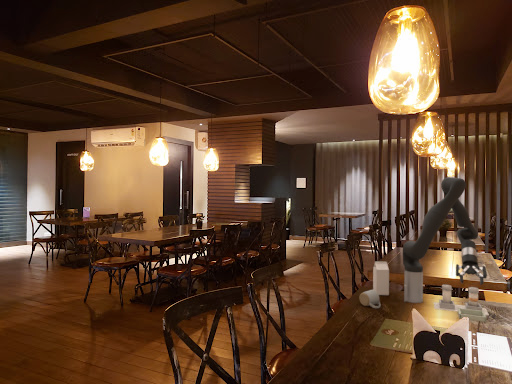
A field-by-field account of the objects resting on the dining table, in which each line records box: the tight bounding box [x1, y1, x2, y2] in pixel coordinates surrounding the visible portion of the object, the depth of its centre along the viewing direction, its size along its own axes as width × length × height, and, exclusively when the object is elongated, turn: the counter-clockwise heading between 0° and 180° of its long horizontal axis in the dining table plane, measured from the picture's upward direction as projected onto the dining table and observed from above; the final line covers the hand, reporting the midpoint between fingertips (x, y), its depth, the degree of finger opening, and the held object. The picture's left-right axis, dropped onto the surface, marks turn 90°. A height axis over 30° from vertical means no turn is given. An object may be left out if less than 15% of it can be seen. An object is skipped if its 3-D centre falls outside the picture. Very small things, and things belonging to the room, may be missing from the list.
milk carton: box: [372, 261, 390, 296], centre depth 222 cm, size 7×7×19 cm
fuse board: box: [433, 299, 490, 316], centre depth 192 cm, size 24×12×4 cm, turn 66°
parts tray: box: [457, 308, 487, 323], centre depth 179 cm, size 11×10×3 cm
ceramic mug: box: [358, 289, 382, 310], centre depth 199 cm, size 11×8×8 cm
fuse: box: [441, 284, 453, 304], centre depth 194 cm, size 4×4×11 cm
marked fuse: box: [468, 286, 480, 307], centre depth 189 cm, size 4×4×11 cm
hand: (471, 283), depth 196 cm, fingers open, 8 cm apart
